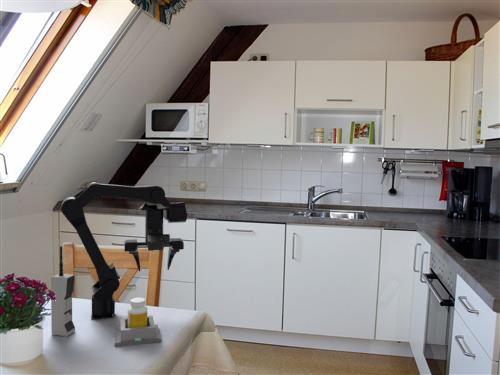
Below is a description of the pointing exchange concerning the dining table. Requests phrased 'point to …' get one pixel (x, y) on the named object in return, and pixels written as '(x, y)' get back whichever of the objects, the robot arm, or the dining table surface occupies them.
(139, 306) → the supplement bottle
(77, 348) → the dining table surface
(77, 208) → the robot arm
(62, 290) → the vintage mobile phone
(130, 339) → the charging dock
